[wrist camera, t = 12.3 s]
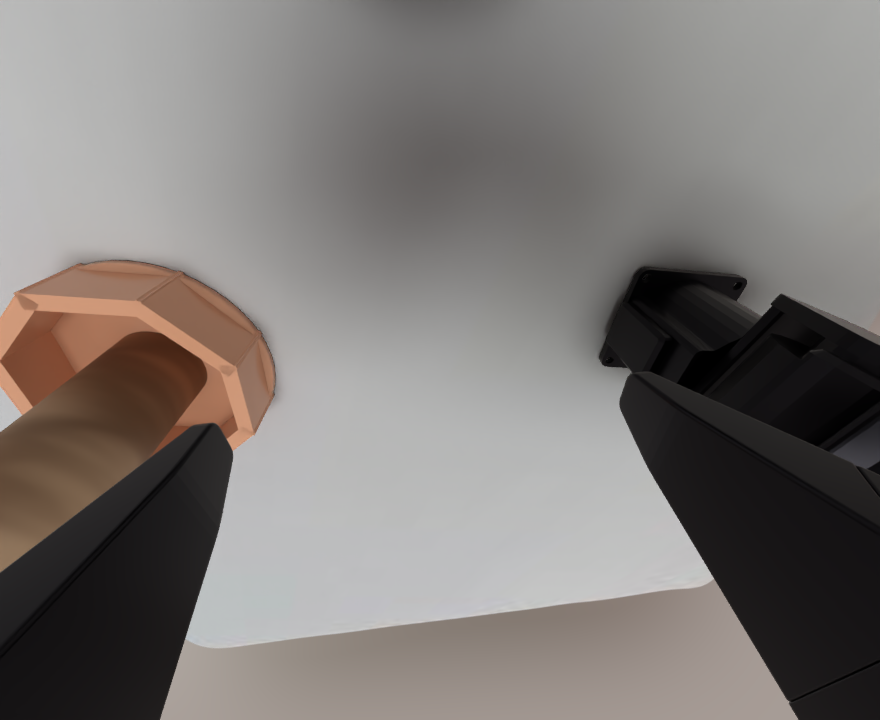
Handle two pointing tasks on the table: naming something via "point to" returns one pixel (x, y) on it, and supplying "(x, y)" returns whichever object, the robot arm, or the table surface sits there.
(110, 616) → the robot arm
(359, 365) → the table surface
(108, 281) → the terracotta dish
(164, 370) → the walnut peg
